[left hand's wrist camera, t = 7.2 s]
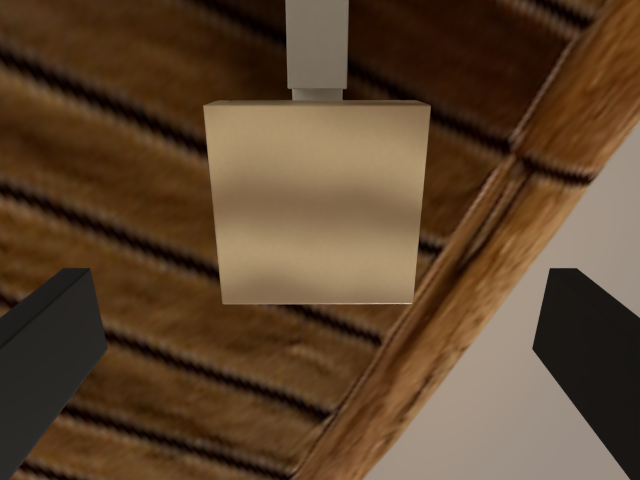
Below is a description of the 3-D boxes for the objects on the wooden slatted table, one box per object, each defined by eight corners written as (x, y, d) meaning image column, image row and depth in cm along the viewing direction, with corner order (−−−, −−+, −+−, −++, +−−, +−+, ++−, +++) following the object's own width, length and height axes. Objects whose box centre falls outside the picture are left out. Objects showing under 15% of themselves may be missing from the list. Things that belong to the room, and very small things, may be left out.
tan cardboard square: (402, 278, 26) (412, 304, 23) (232, 278, 26) (222, 304, 23) (416, 100, 22) (431, 105, 19) (217, 100, 22) (203, 105, 19)
